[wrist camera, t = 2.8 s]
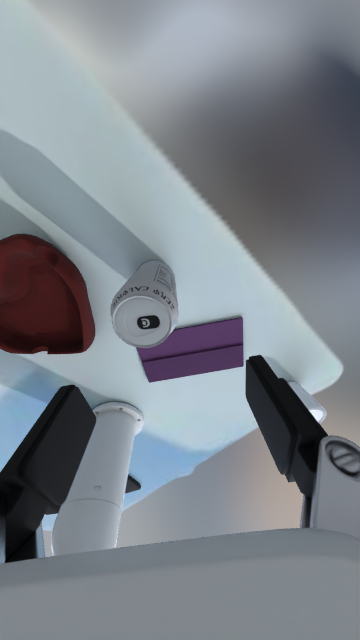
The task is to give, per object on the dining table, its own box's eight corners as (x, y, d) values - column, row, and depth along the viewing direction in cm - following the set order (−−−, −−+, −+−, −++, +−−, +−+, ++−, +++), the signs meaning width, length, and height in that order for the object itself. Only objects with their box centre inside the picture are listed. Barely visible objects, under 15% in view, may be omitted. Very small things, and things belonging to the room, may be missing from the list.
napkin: (148, 380, 37) (148, 383, 36) (133, 336, 32) (132, 339, 31) (242, 363, 36) (244, 366, 36) (241, 317, 31) (243, 319, 31)
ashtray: (67, 362, 34) (51, 382, 29) (-24, 303, 28) (-60, 317, 23) (130, 306, 29) (123, 319, 25) (38, 221, 23) (7, 218, 19)
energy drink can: (132, 262, 26) (93, 293, 13) (172, 257, 26) (174, 282, 13) (140, 299, 29) (116, 357, 16) (177, 295, 29) (183, 349, 16)
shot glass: (278, 379, 39) (299, 407, 33) (307, 379, 39) (333, 407, 33) (269, 400, 42) (286, 430, 36) (296, 400, 42) (318, 429, 36)
